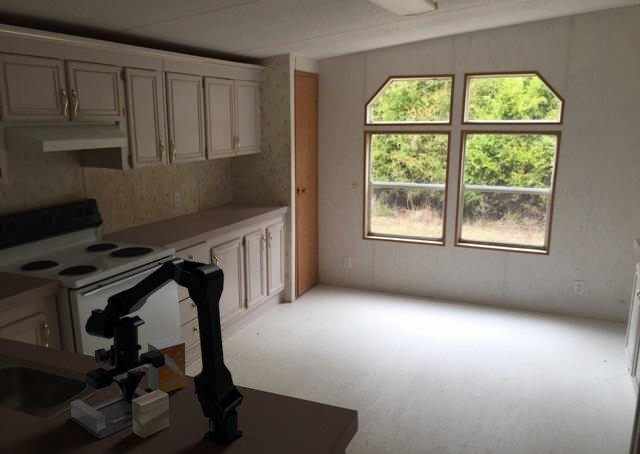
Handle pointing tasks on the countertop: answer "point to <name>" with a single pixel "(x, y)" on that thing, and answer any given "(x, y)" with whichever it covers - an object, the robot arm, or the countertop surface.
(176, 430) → the countertop surface
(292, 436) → the countertop surface
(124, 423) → the vise bed
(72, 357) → the countertop surface
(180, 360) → the small box
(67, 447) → the countertop surface
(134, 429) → the ash block
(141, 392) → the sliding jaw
